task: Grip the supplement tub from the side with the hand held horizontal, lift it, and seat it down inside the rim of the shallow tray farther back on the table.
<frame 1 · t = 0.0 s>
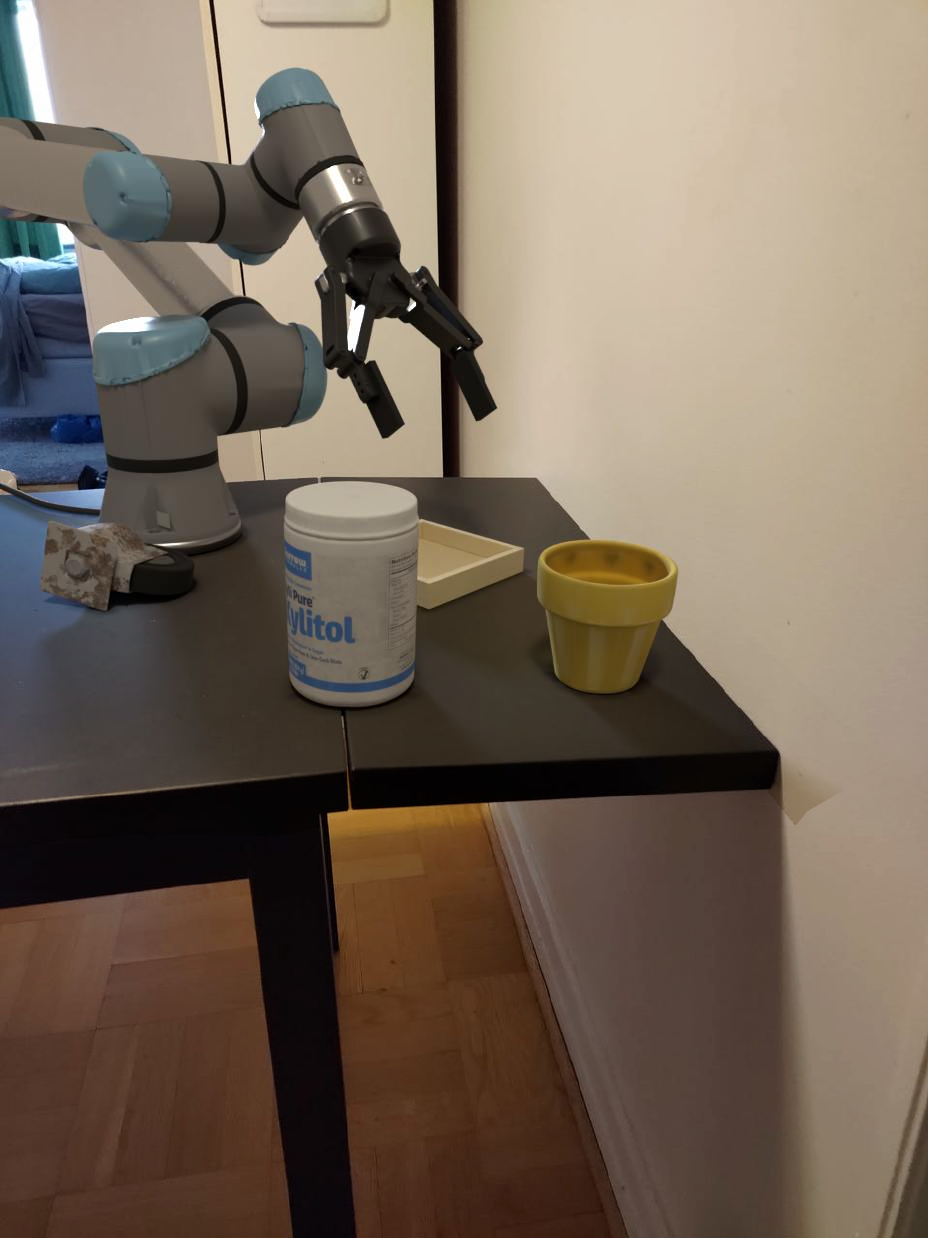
hand: (443, 423, 83), 15 cm above the table, tool tilted 35°, fingers open, 13 cm apart
flower pot: (595, 678, 68), on the table
caster wheel: (130, 593, 81), on the table
shallow tray: (424, 571, 89), on the table
supplement tub: (354, 684, 65), on the table
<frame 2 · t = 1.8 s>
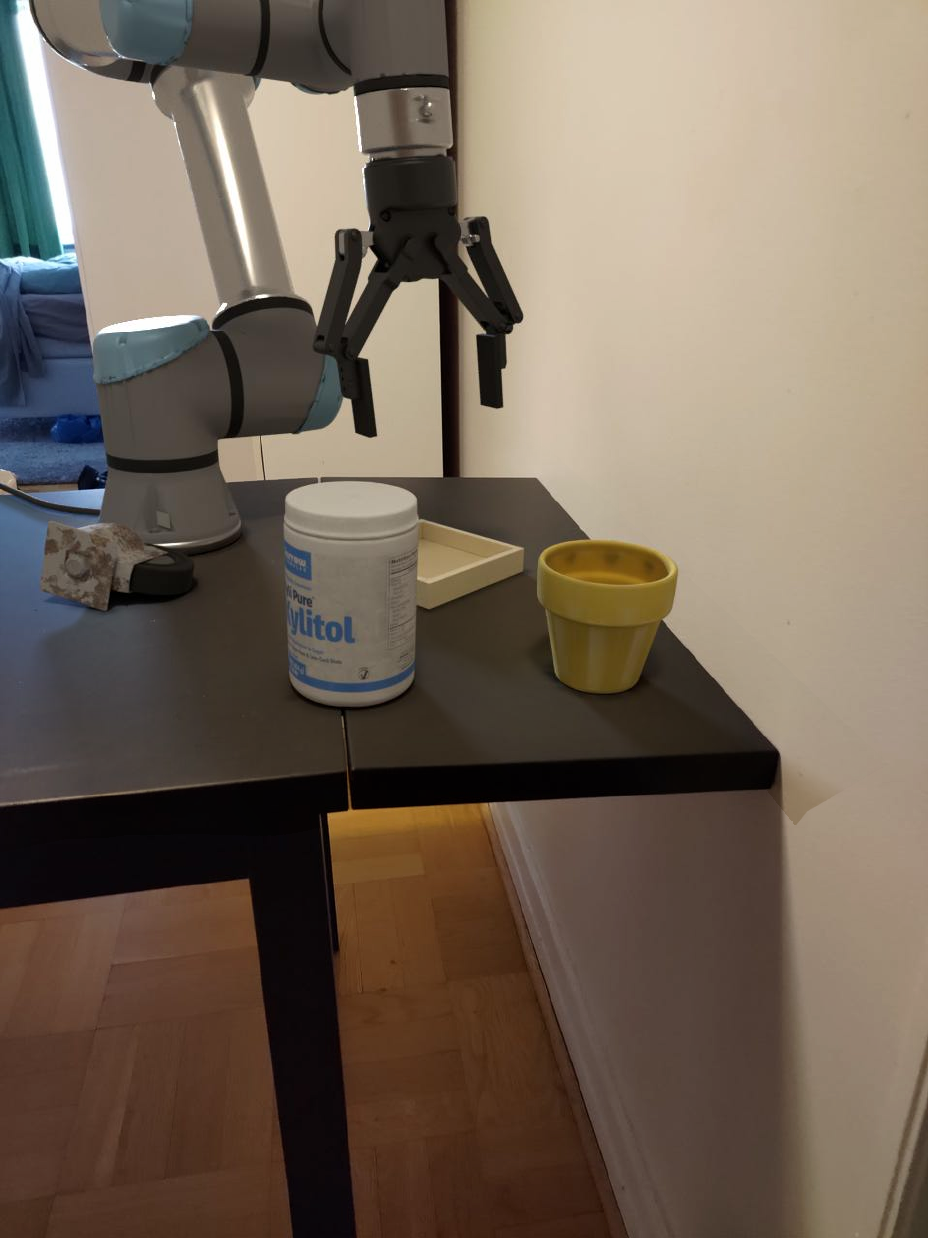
hand: (431, 420, 78), 16 cm above the table, tool pointing down, fingers open, 13 cm apart
nothing on the table moved.
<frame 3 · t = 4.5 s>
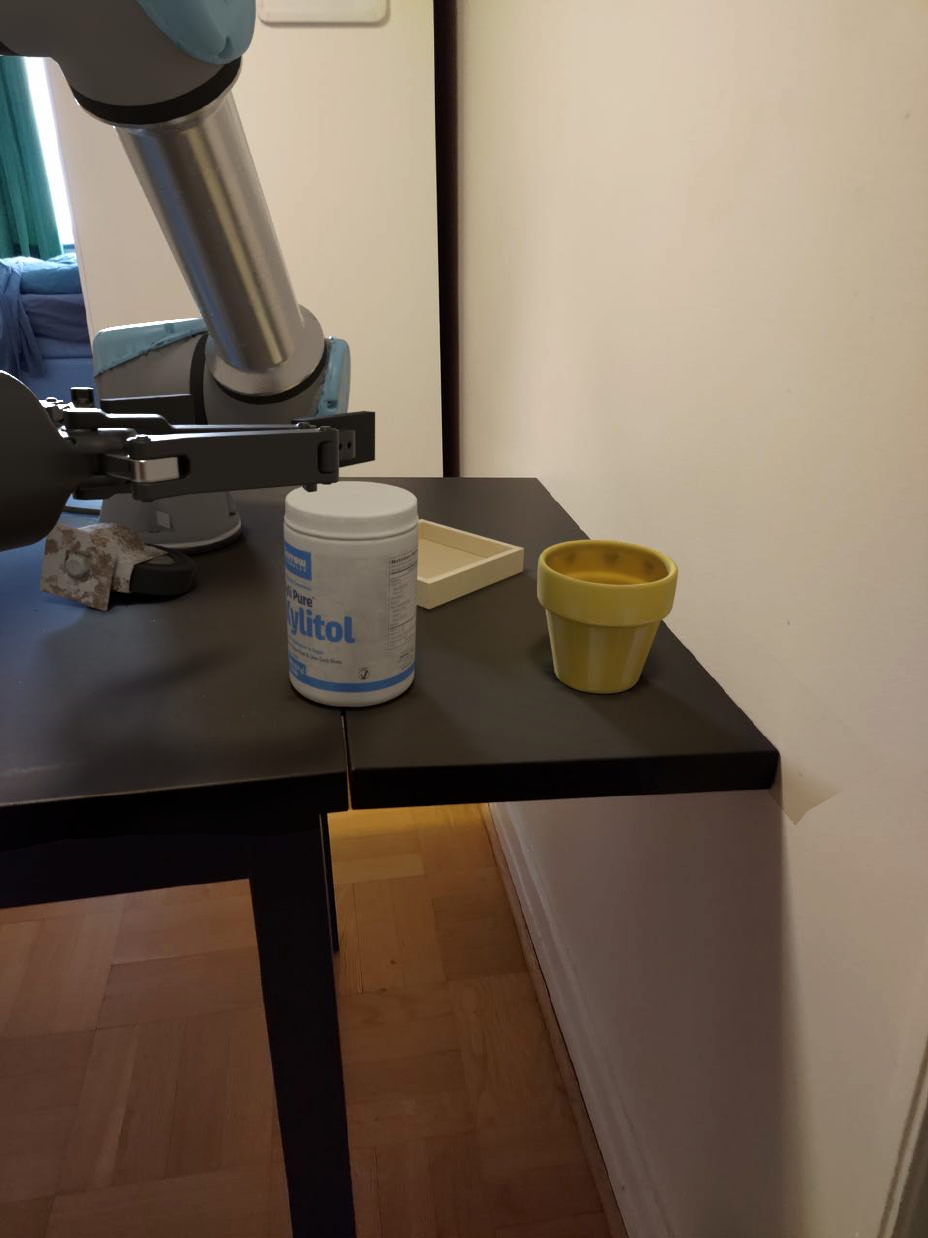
hand: (275, 425, 51), 21 cm above the table, tool horizontal, fingers open, 13 cm apart
nothing on the table moved.
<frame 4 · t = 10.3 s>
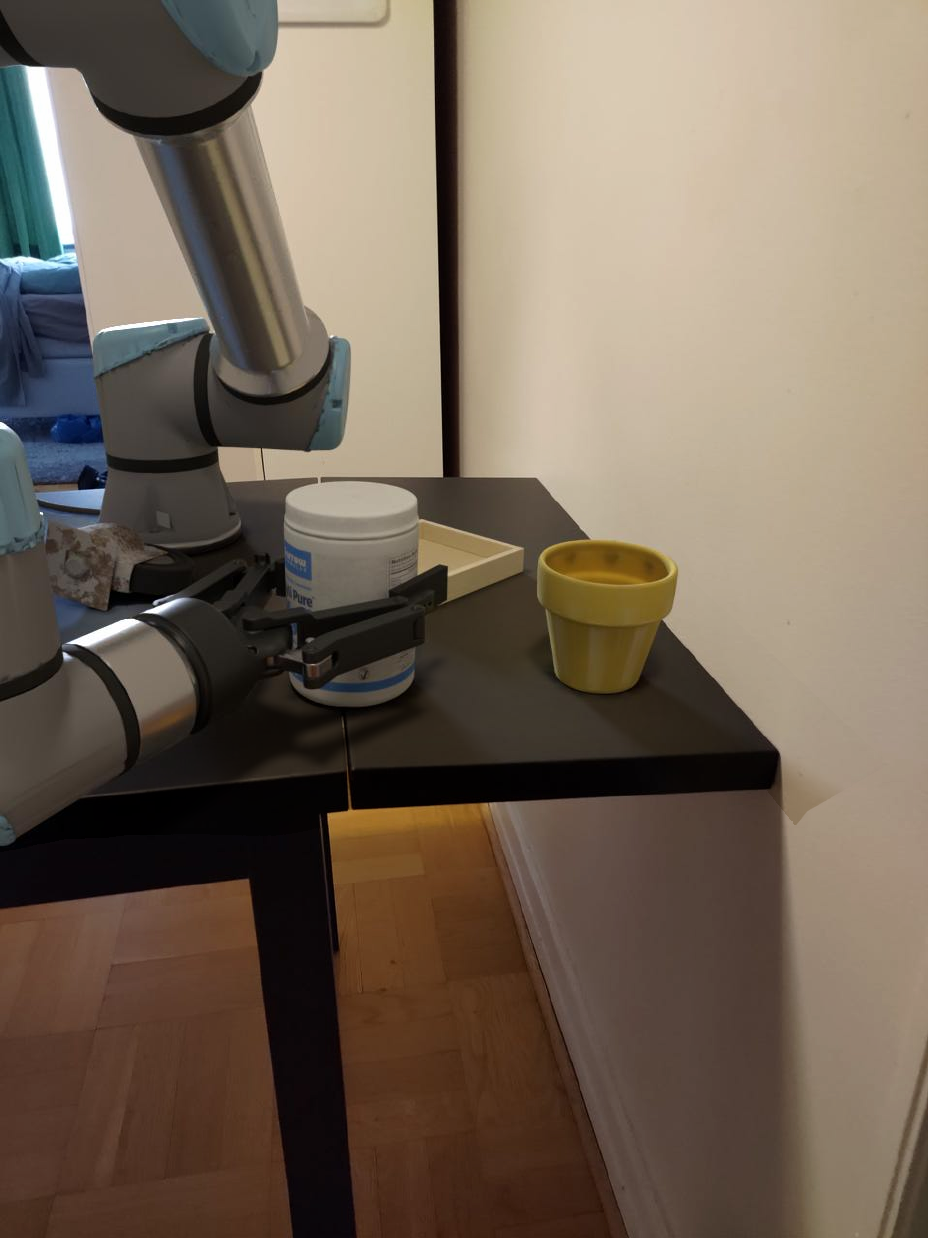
hand: (386, 568, 66), 8 cm above the table, tool horizontal, fingers closed on supplement tub, 10 cm apart
supplement tub: (354, 684, 65), on the table, touching gripper
everything else where it was.
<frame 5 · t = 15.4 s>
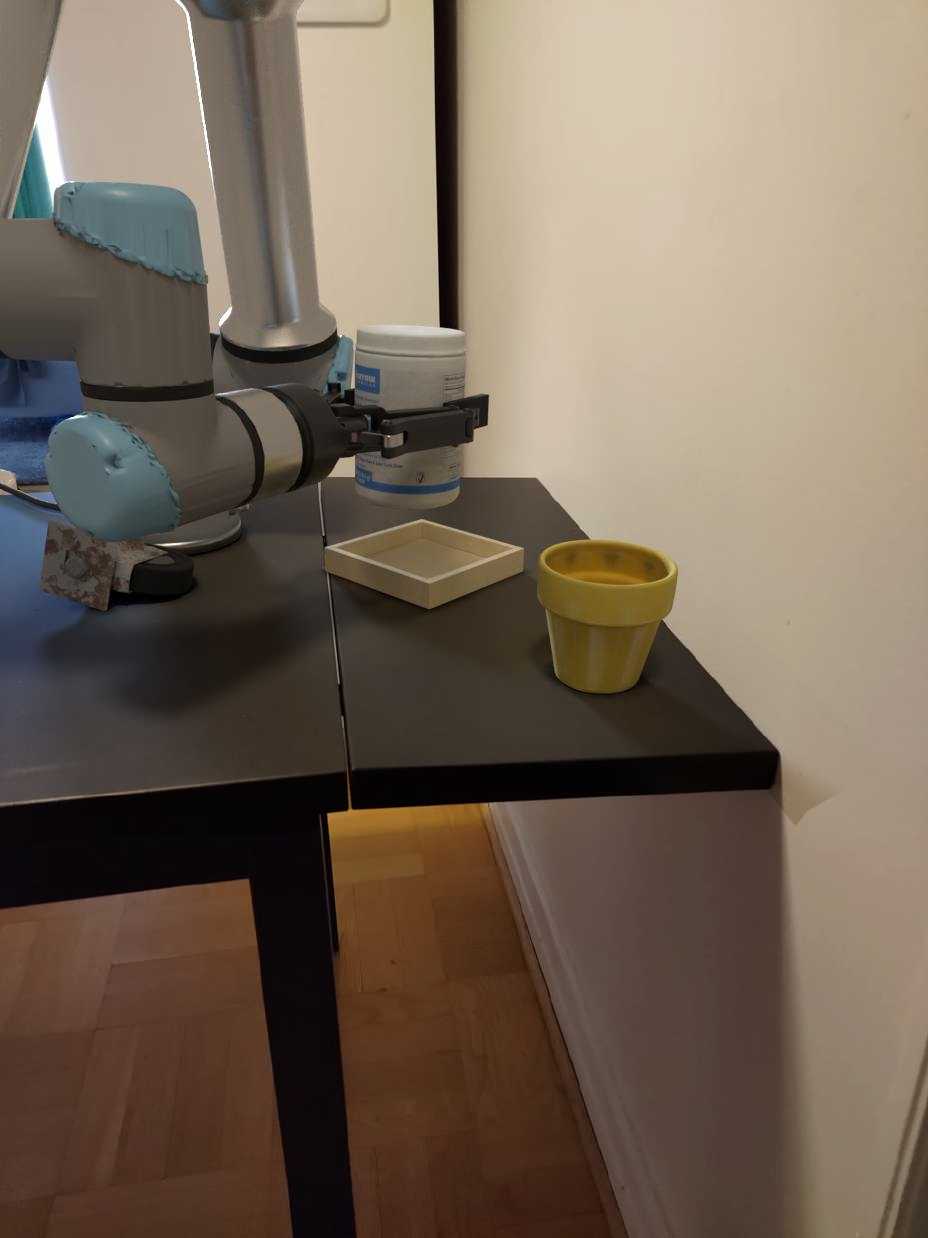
hand: (436, 403, 78), 18 cm above the table, tool horizontal, fingers closed on supplement tub, 10 cm apart
supplement tub: (408, 500, 78), point 10 cm above the table, touching gripper
everything else where it was.
when the fingers open (9 cm above the table, at t = 20.6 s): supplement tub stays where it is, resting on shallow tray.
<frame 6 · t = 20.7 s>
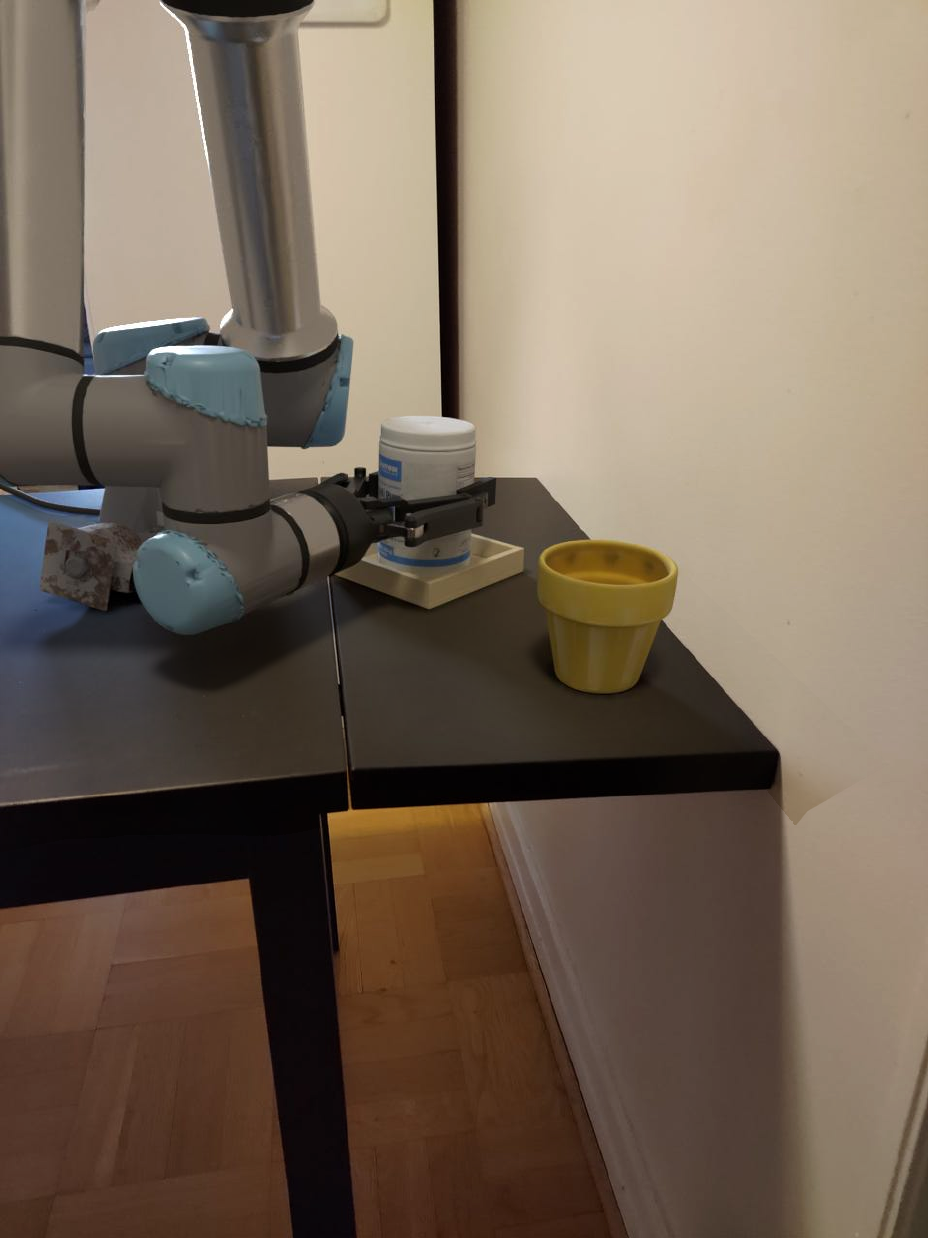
hand: (449, 482, 89), 9 cm above the table, tool horizontal, fingers open, 10 cm apart
supplement tub: (424, 568, 88), resting on shallow tray
everything else where it was.
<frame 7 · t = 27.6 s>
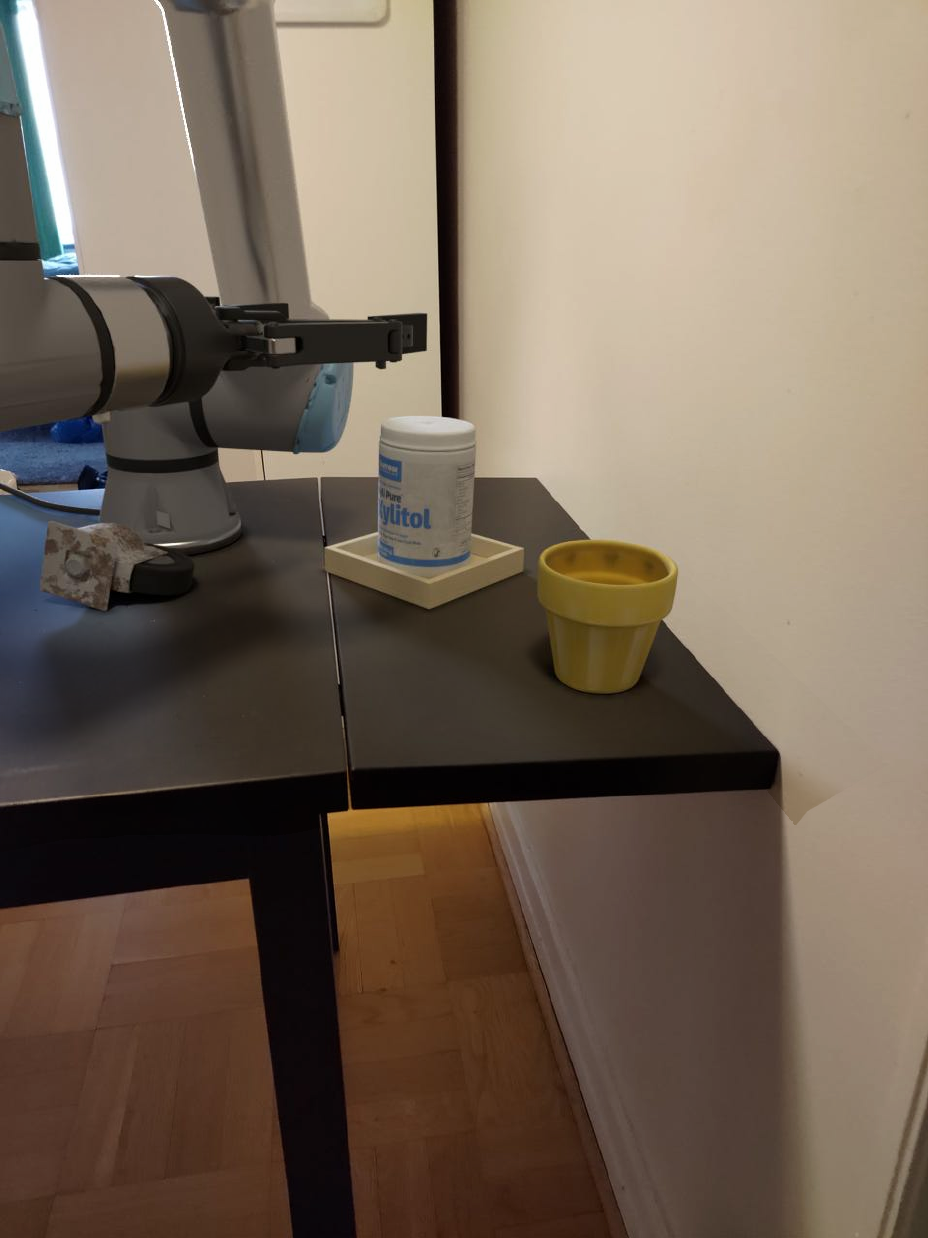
hand: (351, 325, 68), 25 cm above the table, tool horizontal, fingers open, 13 cm apart
nothing on the table moved.
at the end: supplement tub 0.1 cm off-centre in the shallow tray, point 0.4 cm above the shallow tray's base; supplement tub tilted 0°; the gripper is holding nothing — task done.
